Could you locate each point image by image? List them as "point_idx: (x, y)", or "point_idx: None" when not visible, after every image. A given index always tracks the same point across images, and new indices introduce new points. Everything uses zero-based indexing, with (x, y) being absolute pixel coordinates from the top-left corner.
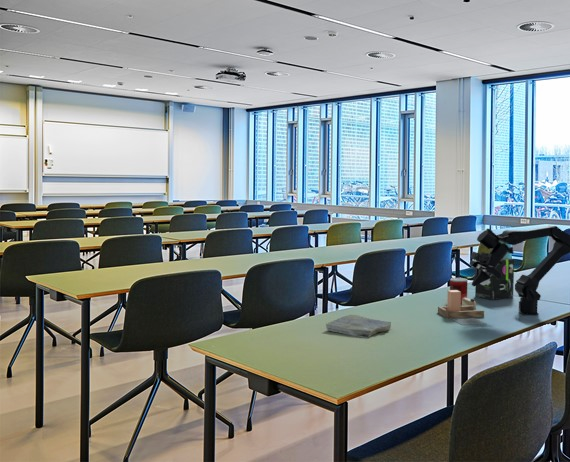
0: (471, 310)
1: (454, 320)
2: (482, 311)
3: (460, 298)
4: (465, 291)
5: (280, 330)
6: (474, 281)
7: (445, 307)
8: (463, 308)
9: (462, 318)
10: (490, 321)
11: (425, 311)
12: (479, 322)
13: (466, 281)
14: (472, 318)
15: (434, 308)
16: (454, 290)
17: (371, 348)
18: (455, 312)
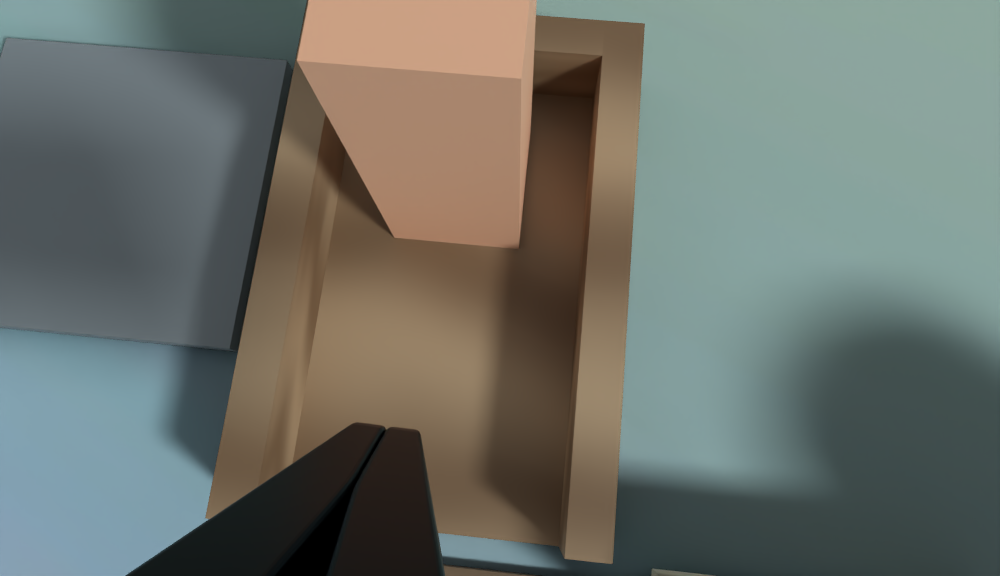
0: (561, 509)
1: (204, 55)
2: (216, 488)
3: (335, 127)
4: None
5: None
6: (282, 484)
7: (597, 106)
8: (574, 377)
9: (255, 186)
10: (68, 484)
11: (784, 6)
12: (6, 270)
13: None
14: (210, 301)
15: (936, 177)
16: (479, 8)
17: None
18: (292, 91)
